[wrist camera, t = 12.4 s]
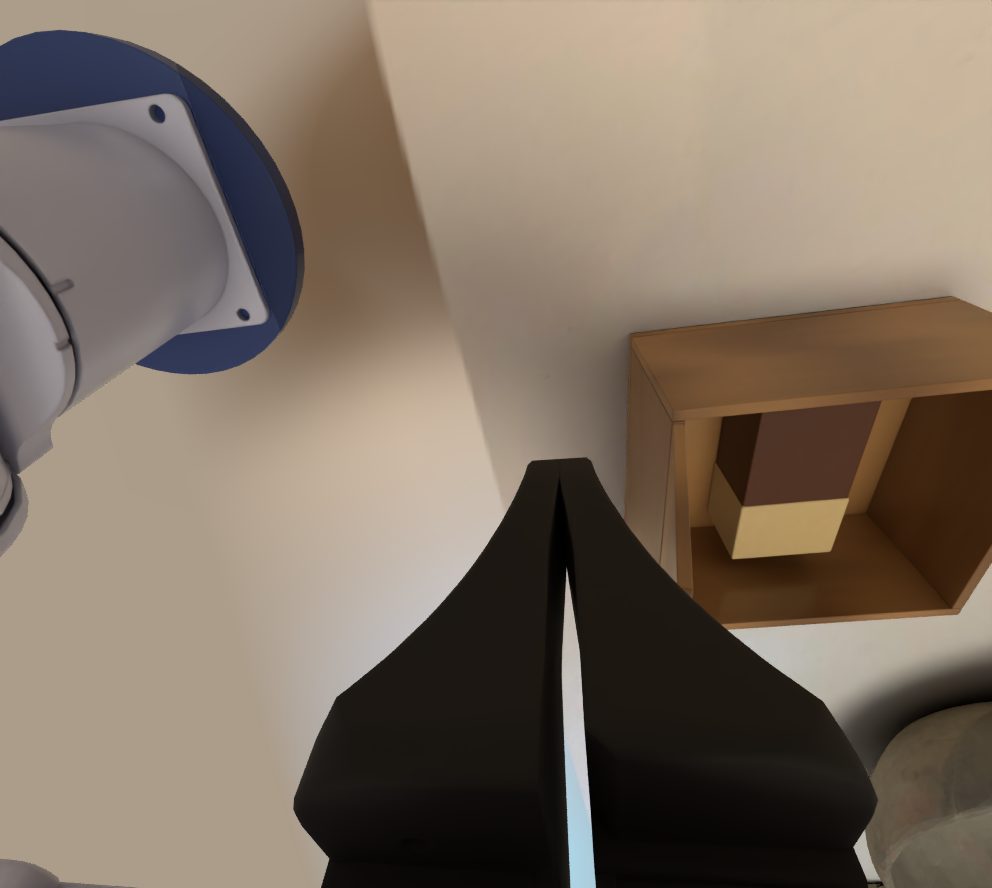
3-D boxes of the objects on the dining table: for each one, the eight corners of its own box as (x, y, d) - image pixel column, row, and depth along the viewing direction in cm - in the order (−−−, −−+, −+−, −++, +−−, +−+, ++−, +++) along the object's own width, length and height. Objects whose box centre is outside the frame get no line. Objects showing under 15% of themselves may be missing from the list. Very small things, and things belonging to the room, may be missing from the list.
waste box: (624, 532, 25) (653, 635, 20) (629, 333, 19) (673, 410, 14) (866, 512, 24) (958, 614, 19) (953, 296, 18) (1120, 365, 13)
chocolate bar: (795, 504, 23) (831, 552, 21) (706, 511, 24) (731, 560, 21) (838, 347, 19) (891, 383, 16) (729, 359, 19) (764, 396, 17)
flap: (660, 648, 20) (652, 647, 20) (684, 423, 14) (672, 423, 14) (659, 815, 15) (649, 812, 15) (693, 590, 9) (676, 587, 9)
